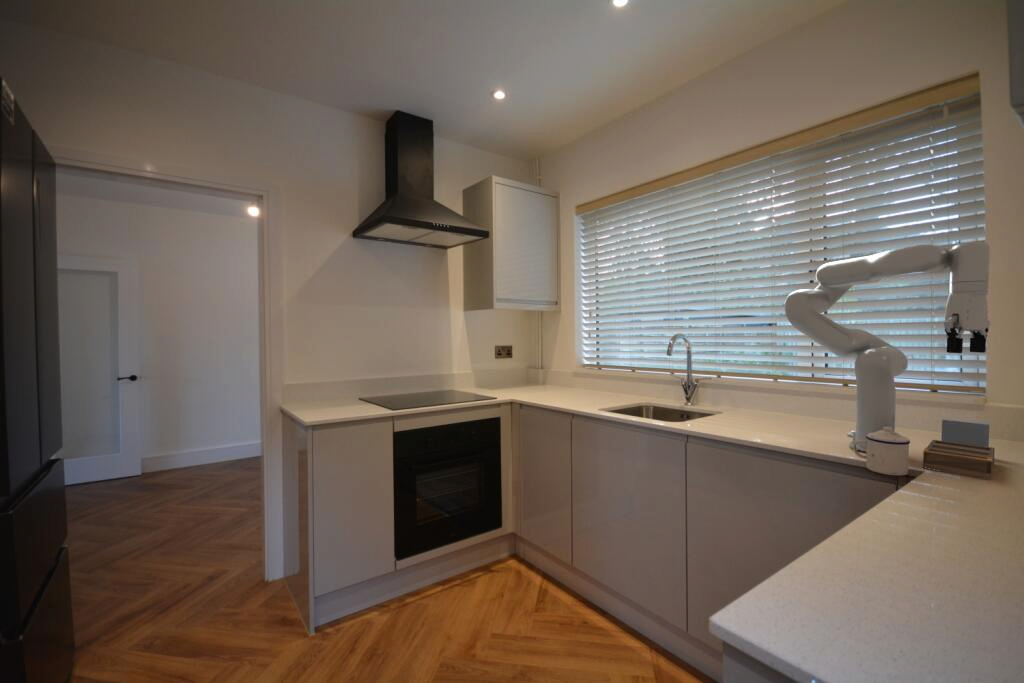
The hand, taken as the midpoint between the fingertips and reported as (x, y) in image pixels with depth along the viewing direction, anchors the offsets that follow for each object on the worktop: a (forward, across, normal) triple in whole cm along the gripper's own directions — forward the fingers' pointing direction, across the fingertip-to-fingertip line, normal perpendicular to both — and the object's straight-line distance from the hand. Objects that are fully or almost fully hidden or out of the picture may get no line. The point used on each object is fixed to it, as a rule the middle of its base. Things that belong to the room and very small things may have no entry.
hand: (966, 352), depth 126 cm
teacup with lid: (+32, +24, -5) cm, 40 cm away
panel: (+31, -16, -8) cm, 36 cm away
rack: (+31, 0, -1) cm, 31 cm away
